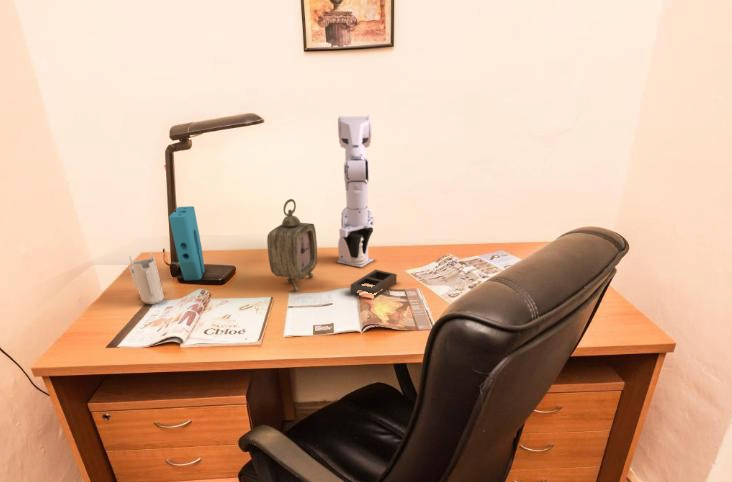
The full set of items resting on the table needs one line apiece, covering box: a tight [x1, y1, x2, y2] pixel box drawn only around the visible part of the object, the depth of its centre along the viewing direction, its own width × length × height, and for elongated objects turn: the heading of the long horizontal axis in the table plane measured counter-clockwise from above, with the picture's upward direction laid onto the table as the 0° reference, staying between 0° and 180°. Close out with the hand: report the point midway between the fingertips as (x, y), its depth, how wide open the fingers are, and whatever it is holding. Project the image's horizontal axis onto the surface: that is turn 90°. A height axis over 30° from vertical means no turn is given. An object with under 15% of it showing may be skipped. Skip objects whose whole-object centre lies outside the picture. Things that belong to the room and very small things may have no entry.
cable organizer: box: [128, 252, 165, 305], centre depth 135 cm, size 7×12×12 cm, turn 29°
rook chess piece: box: [351, 237, 366, 265], centre depth 138 cm, size 4×4×8 cm
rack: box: [350, 269, 398, 299], centre depth 142 cm, size 14×7×3 cm, turn 148°
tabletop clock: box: [266, 198, 318, 293], centre depth 140 cm, size 14×9×25 cm, turn 161°
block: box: [168, 205, 205, 281], centre depth 148 cm, size 12×5×20 cm, turn 6°
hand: (358, 255), depth 138 cm, fingers closed on rook chess piece, 3 cm apart
